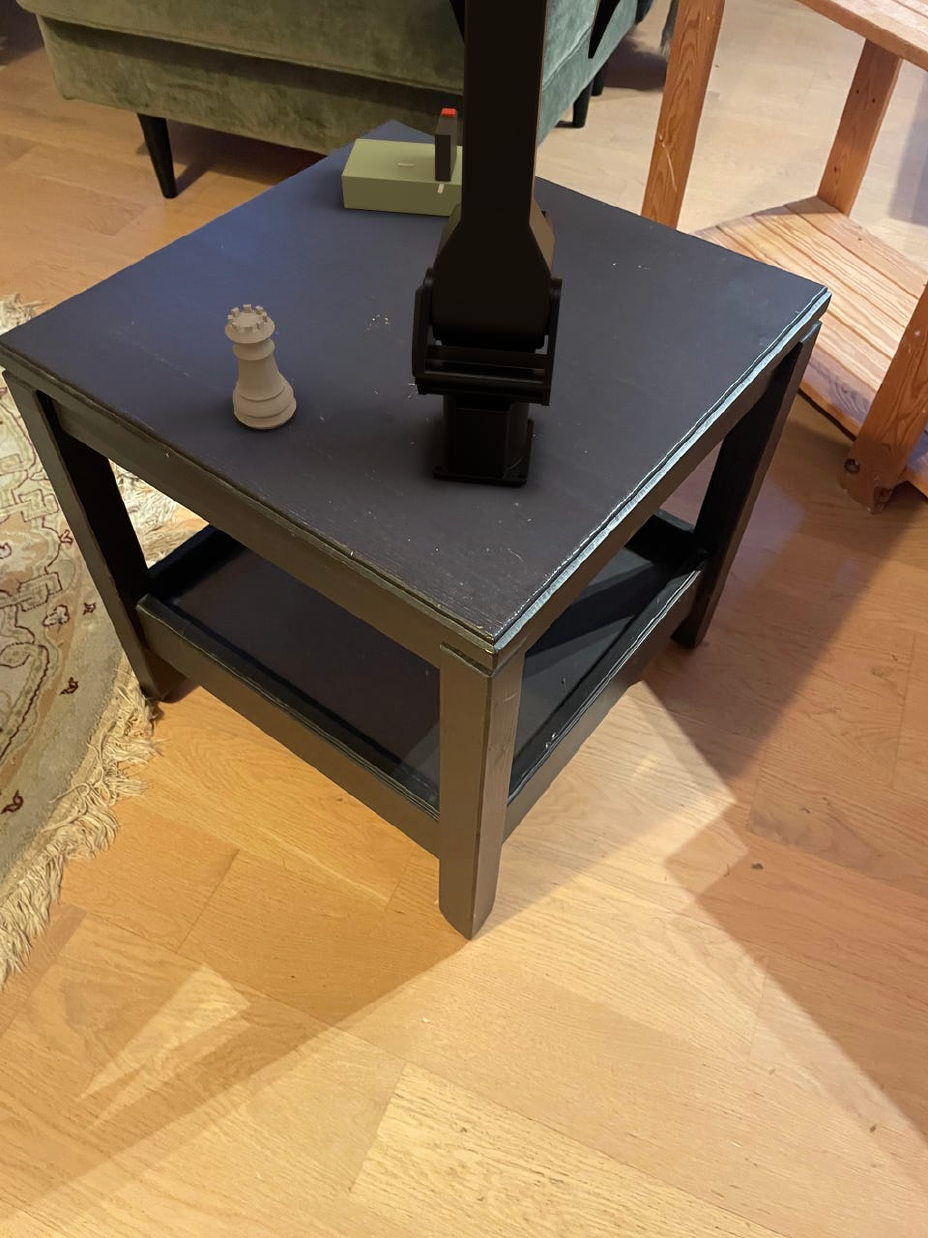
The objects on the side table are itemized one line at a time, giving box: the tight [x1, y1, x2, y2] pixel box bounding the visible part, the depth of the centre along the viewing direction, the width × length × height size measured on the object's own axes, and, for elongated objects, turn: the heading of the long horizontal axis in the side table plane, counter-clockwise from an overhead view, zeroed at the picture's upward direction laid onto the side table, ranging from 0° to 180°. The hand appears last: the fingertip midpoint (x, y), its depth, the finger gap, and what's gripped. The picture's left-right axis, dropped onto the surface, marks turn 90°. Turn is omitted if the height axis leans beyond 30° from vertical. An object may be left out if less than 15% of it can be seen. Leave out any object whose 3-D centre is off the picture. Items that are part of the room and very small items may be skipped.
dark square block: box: [434, 107, 458, 181], centre depth 81 cm, size 4×1×4 cm, turn 173°
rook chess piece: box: [224, 303, 297, 431], centre depth 63 cm, size 4×4×8 cm
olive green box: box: [341, 138, 462, 217], centre depth 84 cm, size 9×13×3 cm, turn 83°
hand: (529, 52), depth 70 cm, fingers open, 9 cm apart
